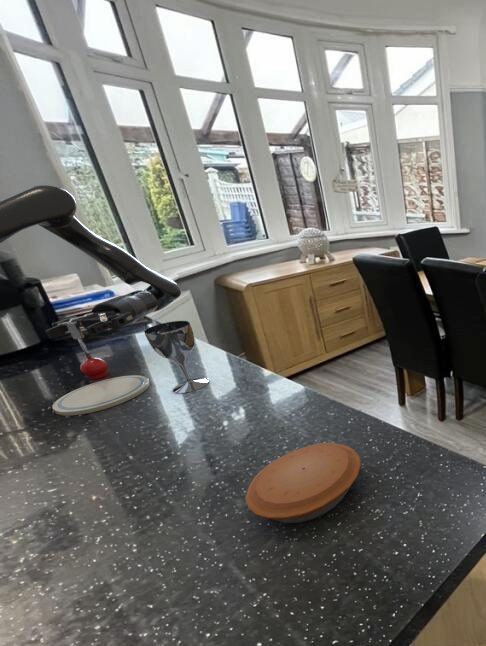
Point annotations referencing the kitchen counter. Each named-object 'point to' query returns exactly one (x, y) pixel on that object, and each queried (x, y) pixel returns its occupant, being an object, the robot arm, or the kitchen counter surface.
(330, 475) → the pie
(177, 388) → the wine glass
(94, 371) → the red bulb with handle
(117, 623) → the kitchen counter surface
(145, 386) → the plate
